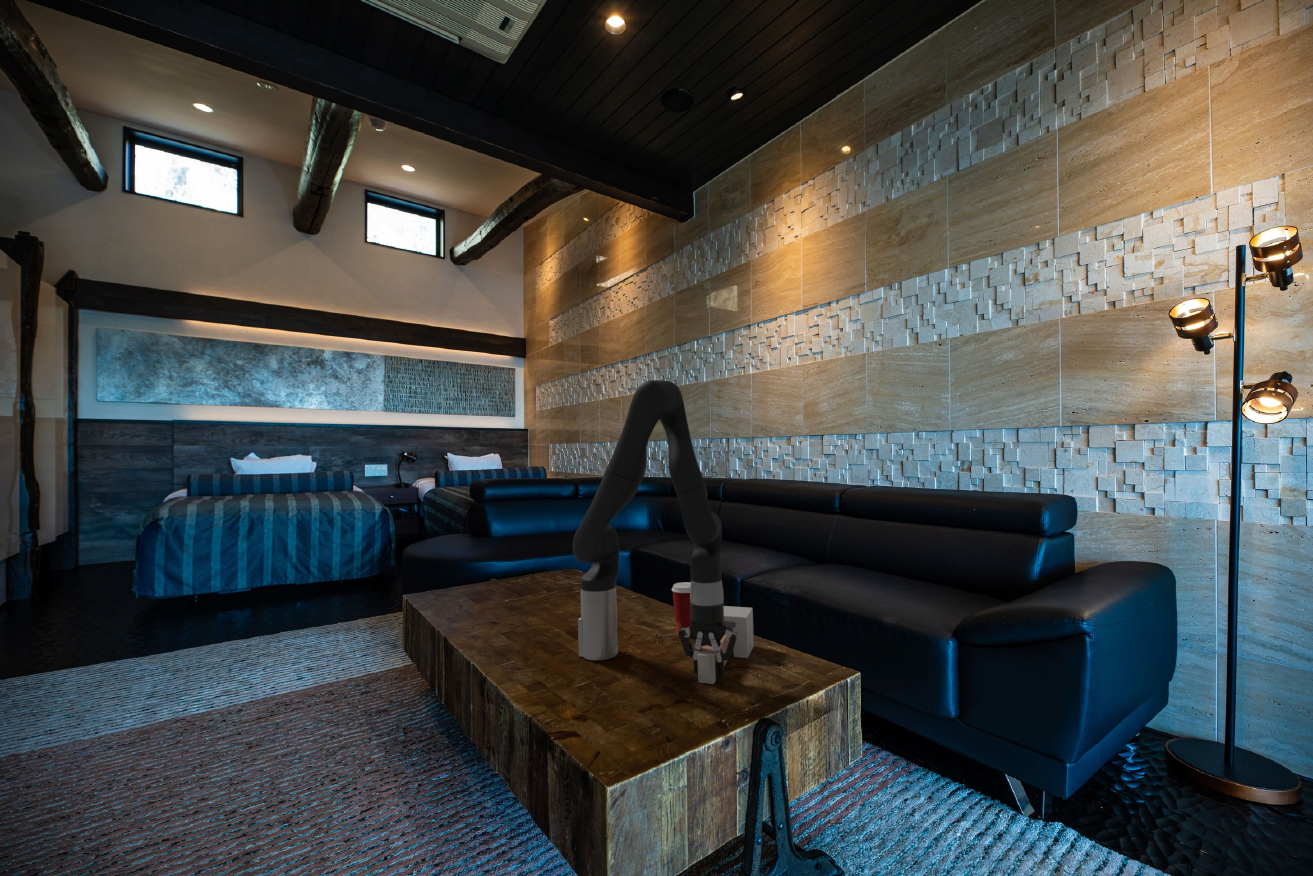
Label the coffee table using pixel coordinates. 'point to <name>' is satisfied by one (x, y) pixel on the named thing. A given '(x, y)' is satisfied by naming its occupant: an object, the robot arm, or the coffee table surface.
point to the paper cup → (682, 605)
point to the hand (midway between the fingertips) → (709, 676)
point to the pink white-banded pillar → (709, 662)
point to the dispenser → (740, 628)
